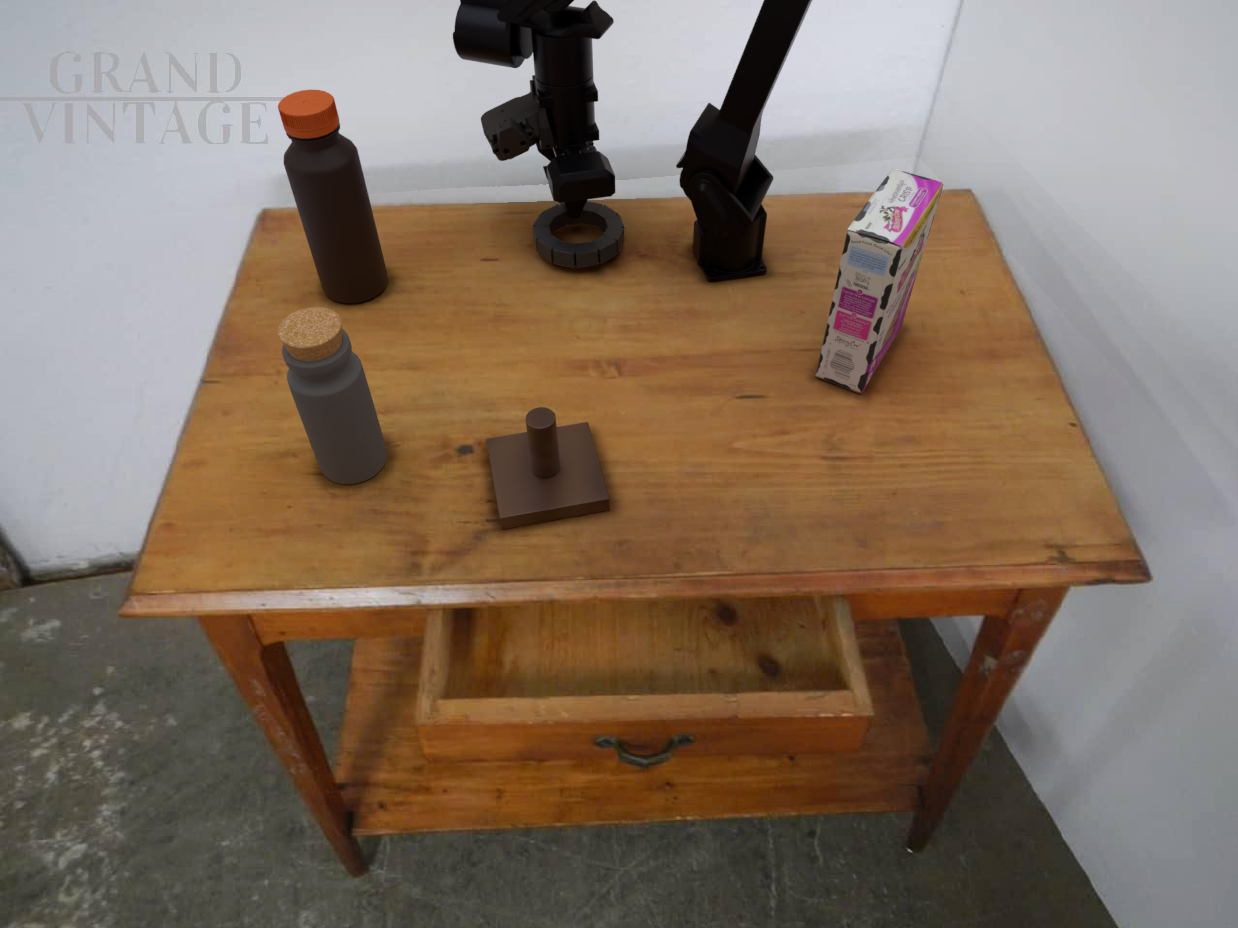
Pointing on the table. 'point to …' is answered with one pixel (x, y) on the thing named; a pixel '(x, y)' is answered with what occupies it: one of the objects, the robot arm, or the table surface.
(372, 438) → the bottle
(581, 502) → the peg stand
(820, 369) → the candy bar box
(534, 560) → the table surface
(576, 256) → the ring
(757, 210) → the robot arm
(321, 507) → the table surface
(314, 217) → the vinegar
